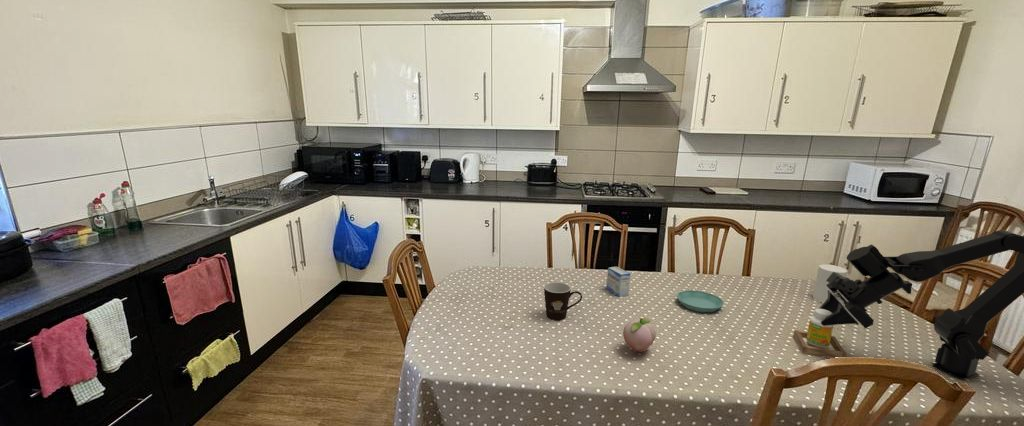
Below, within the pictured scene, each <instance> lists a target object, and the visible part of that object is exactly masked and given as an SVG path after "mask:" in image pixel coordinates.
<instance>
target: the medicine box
mask: <svg viewBox="0 0 1024 426" xmlns="http://www.w3.org/2000/svg"><path fill="white" fill-rule="evenodd" d="M606 275H607V276H606V287H605V289H606V290H607V291H608V292H610V293H612V294H614V295H616V296H617V297H619V298H621V297H626V296H629V295H630V284H631V273H630V272H628V271H626V270H625V269H622V268H620V267H618V266H611V267H608V268H607V274H606Z"/></svg>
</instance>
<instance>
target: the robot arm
mask: <svg viewBox="0 0 1024 426" xmlns="http://www.w3.org/2000/svg"><path fill="white" fill-rule="evenodd" d="M1007 251H1013V252H1017V255H1016V258H1015V261H1014V265H1013V266H1012V267H1011V268H1010V269H1009V270H1008V271H1006V272H1005V273H1004V274H1003V275H1001V276H1000V277H999V278H998V279H997V280H995V282H994V283H992V284H991V285H990V286H989V287H987V289H985V290H984V291H983V292H982V293H980V294H979V295H978V296H977V297H976V298H975V299H973V300H972V301H971V302H970V303H969V304H968V305H967V306H965V307H964V308H961V309H958V310H955V311H954V310H953V309H951V308H949V307H948V308H946V309H945V310H944V312H943V313H942V314H941V315H939V316H937V317H935V322H934V324H933V328H934V332H935V333H936V334H938V336H939V340H940V341H941V342H943V343H941V346H940V347H939V348H938V349H937V352H936V356H935V359H934V362H935V363H932V364H931V366H932V367H934V368H936V369H937V370H941V371H943V372H945V373H947V374H949V375H951V376H953V377H955V378H958V379H960V380H966V379H972V378H975V377H979V375H980V374H979V373H977V372H976V371H977V368H978V364H979V361H980V360H982V361H983V360H985V358H986V357H987V356H988V355H989V352H988V351H987V350H986V349H985V348H984V347H983V346H982V344H980V343H979V342H980V340H981V339H982V338H983V337H984V336H985V332H986V329H987V326H988V323H989V322H990V321H992V319H993V320H994V319H995V317H997V315H999V314H1000V313H1001V312H1003V311H1004V310H1005V309H1006V308H1008V307H1009V306H1010V305H1011V304H1013V302H1015V301H1016V300H1017V299H1018V298H1019V297H1021V296H1022V295H1023V294H1024V235H1020V234H1016V233H1014V232H1011V231H1008V230H1005V229H999V230H995V231H993V232H991V233H988V234H986V235H982V236H979V237H976V238H973V239H969V240H966V241H963V242H959V243H957V244H953V245H949V246H945V247H942V248H939V249H934V250H922V251H920V250H918V251H913V252H907V253H906V252H905V253H902V254H900V255H898V256H896V255H895V256H884V255H883V254H882V253H881V252H880V250H879V249H878V248H877V247H876V246H875V245H874V244H869V245H867V246H861V247H859V248H854V249H853V250H851V251H850V252H849V253H848V254H847V255H846V260H847V261H848V262H849V263H850V264H851V266H852V267H854V268H855V270H857V272H859V273H860V274H861V276H863V277H868V278H866V279H864V280H863V281H862V280H861V279H855V280H853V279H851V278H849V277H847V276H846V277H844V276H842V275H840V274H838V273H836V272H833V273H832V274H831V275H830V276H829V278H828V279H827V280H826V281H827V282H829V284H827V285H826V286H827V287H828V288H829V289H830V290H831V292H830V291H829V290H828V291H827V292H828V298H827V300H826V301H825V302H824V303H822V304H821V305H820V306H819V308H818V309H825V310H828V311H830V312H831V313H832V314H831V315H829V316H828V317H827V318H825V319H824V320H823V321H821V324H822V325H823V326H826V325H834V326H835V325H850V324H851V325H862V326H863V328H865V329H868V328H870V327H871V326H873V325H874V322H875V321H874V318H872V316H870V314H869V313H868V312H867V311H868V309H866V308H867V307H869V306H871V305H873V304H874V303H877V304H878V305H881V304H883V303H884V302H883V301H882V299H885V298H886V297H888V296H889V295H891V294H893V293H896V292H897V291H899V290H903V291H904V293H906V294H907V295H911V294H912V287H913V283H912V282H911V281H913V282H916V283H919V282H921V283H922V282H925V281H928V280H930V279H933V278H935V277H936V276H939V275H941V274H942V273H943V272H944V271H946V270H947V269H949V268H951V267H954V266H958V265H961V264H962V265H963V264H965V263H969V262H972V261H976V260H979V259H982V258H987V257H990V256H994V255H997V254H1000V253H1003V252H1007ZM888 268H889V269H890V270H892V272H890V270H888ZM901 275H902V276H903V277H905V278H907V279H908V280H904V279H903V278H902V276H901Z"/></svg>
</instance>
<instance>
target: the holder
mask: <svg viewBox="0 0 1024 426" xmlns="http://www.w3.org/2000/svg"><path fill="white" fill-rule="evenodd" d="M807 334H808V331H804V330H803V331H802V330H798V329H797V330H796V329H794V331H793V335H792V336H793V338H794V340H795V342H796V344H797V345H798V346H797V347H799V349H800V351H801V354H804V355H810V356H817V357H823V358H827V359H833V358H835V357H846V358H847V356H848V353H847V352H846V350H845V349H844V347H843V346H842V345H841V344H840V342H839V341H838V339H837V337H836V336H834V335H832V336H831V341H830V345H829V347H827V348H821V347H817V346H814V345H811V344H810V343H808V342H807Z"/></svg>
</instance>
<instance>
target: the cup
mask: <svg viewBox="0 0 1024 426" xmlns="http://www.w3.org/2000/svg"><path fill="white" fill-rule="evenodd" d="M833 272H836V273H838V274H840V275H842V276H844V277H846V278H847V276H848V269H846V268H844V267H841V266H838V265H833V264H826V263H825V264H819V265H818V269H817V273H816V279H815V280H816V281H815V283H814V284H815V285H814V289H813V290H814V291H813V296H812V298H813V299H814V300H815V299H816V300H815V301H817V300H818V301H817V302H819V301H820V303H822V302H823V303H824V302H825V301H826V300H827V298H828V292H827V291H828V290H829V291H830V292H831V290H830V289H829V288H828V287H827V286H826V285H827V284H829V282H827V281H826V280H827V279H828V278H829V276H830V275H831V274H832V273H833ZM823 303H822V304H823Z"/></svg>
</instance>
